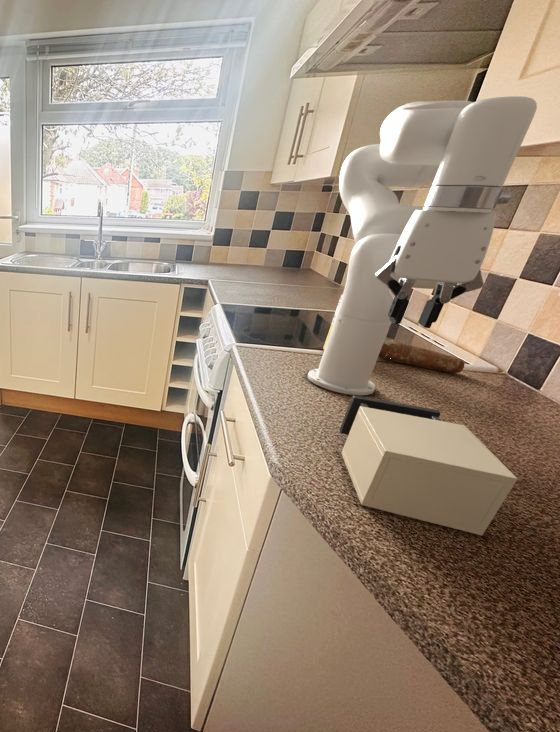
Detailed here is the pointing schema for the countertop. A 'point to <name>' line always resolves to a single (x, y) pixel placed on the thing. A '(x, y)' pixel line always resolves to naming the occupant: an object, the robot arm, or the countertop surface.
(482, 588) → the countertop surface
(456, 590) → the countertop surface
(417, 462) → the cream box with lid
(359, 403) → the black picture frame
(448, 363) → the bread
